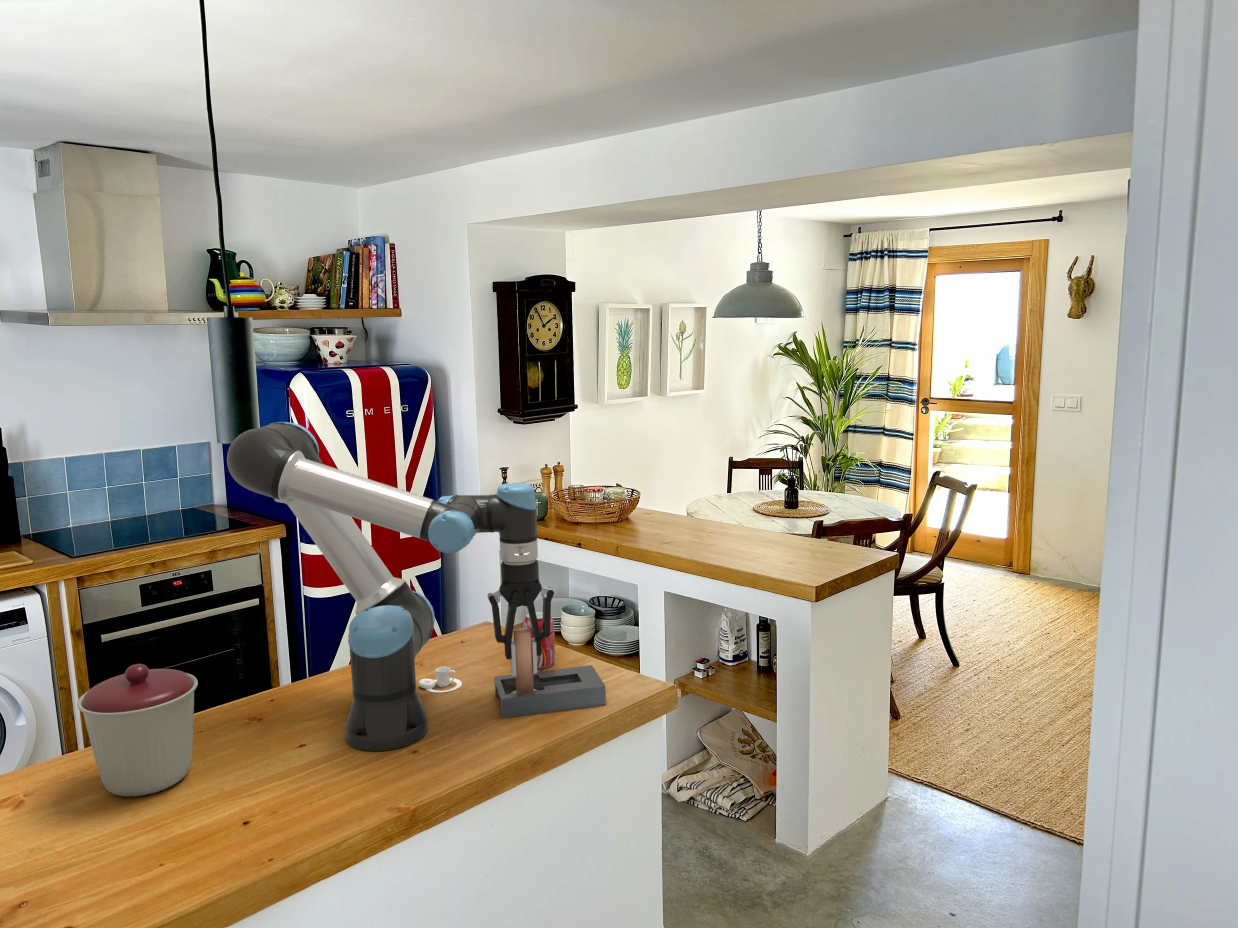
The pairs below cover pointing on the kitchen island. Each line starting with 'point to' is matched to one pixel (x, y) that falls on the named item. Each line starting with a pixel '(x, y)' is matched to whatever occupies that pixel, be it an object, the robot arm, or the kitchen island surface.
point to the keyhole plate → (552, 692)
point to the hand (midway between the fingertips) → (524, 671)
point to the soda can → (543, 641)
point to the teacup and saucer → (440, 680)
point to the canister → (141, 728)
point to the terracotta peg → (523, 660)
